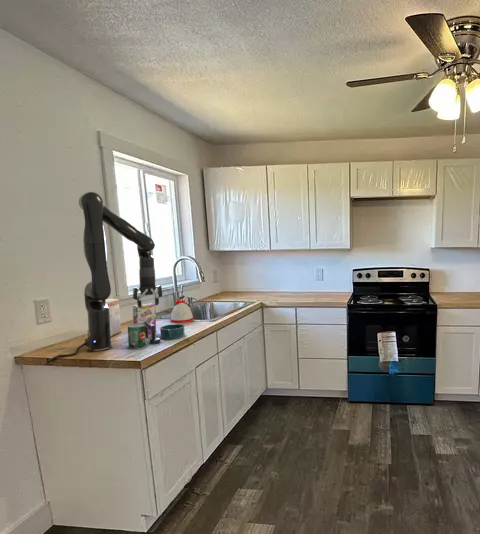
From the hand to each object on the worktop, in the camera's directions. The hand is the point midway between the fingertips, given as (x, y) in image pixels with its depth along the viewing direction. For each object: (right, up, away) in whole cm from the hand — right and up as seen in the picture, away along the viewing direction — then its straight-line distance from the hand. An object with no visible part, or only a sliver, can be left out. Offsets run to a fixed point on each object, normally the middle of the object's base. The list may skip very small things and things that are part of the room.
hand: (148, 306), depth 184 cm
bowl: (+10, -18, +7) cm, 21 cm away
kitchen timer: (+2, -15, +46) cm, 48 cm away
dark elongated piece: (+2, -18, 0) cm, 18 cm away
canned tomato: (-1, -19, -11) cm, 22 cm away
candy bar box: (-8, -17, +14) cm, 24 cm away
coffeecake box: (-27, -18, +10) cm, 34 cm away
